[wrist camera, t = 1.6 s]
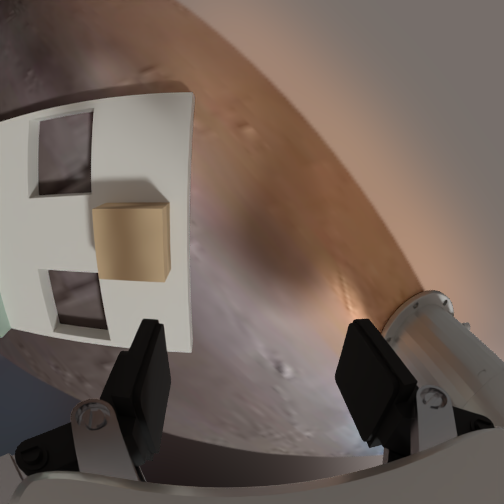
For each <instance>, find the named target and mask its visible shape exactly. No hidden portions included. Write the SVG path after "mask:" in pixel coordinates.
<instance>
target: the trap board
mask: <svg viewBox="0 0 504 504" xmlns="http://www.w3.org/2000/svg"><path fill="white" fill-rule="evenodd" d="M194 104H195V96H194V94H193V92H177V93H155V94H141V95H129V96H120V97H112V98H104V99H97V100H90V101H84V102H79V103H73V104H68V105H63V106H58V107H53V108H49V109H45V110H41V111H37V112H33V113H29V114H25V115H22V116H18V117H15V118H11V119H8V120H5V121H2V122H0V338H2V337H3V336H4V335H5V334H6V333H7V332H8V331H9V330H10V329H11V328H13V329H18V330H22V331H26V332H31V333H36V334H40V335H45V336H51V337H56V338H61V339H67V340H73V341H79V342H86V343H93V344H100V345H107V346H115V347H124V348H130V347H131V344H132V342H133V340H134V337H135V335H136V333H137V330H138V328H139V326H140V324H141V322H142V320H143V319H158V321H159V323H160V324H164V330H165V339H166V347H167V351H170V352H187V353H191V351H192V344H193V336H192V316H191V290H190V180H191V154H192V134H193V118H194ZM88 112H94V114H93V128H92V151H91V192H89V193H69V194H52V195H39V184H38V145H39V126H40V121H44V120H49V119H53V118H58V117H64V116H69V115H75V114H81V113H88ZM127 202H170V252H171V270H170V272H169V275H168V277H167V279H166V281H165V282H144V281H125V280H108V279H99V281H100V288H101V294H102V300H103V306H104V311H105V316H106V321H107V326H108V330H105V329H96V328H88V327H81V326H74V325H67V324H60V321H59V317H58V313H57V310H56V306H55V301H54V297H53V293H52V288H51V284H50V279H49V274H48V270H61V271H76V272H93V273H98V268H97V260H96V251H95V241H94V230H93V216H92V209H93V208H96V207H98V206H100V205H102V204H105V203H127Z"/></svg>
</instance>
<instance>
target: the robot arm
mask: <svg viewBox="0 0 504 504" xmlns="http://www.w3.org/2000/svg"><path fill="white" fill-rule="evenodd" d="M453 316H454V312H453V305H452V302H451V301H450V299H449V298H448V297H447V296H446V295H444V294H443V293H441V292H439V291H435V290H431V291H425V292H421V293H419V294H417V295H415V296H413V297H412V298H410V299H409V300H407V301H406V302H405V303H404V304H402V305H401V306H400V307H399V308H398V309H397V310H396V311H395V313H394V314H393V315H392V316H391V318H390V319H389V320H388V322H387V323H386V325H385V327H384V329H383V331H382V334H381V333H380V332H379V331H378V330H377V328H376V327H375V326H374V325H373V323H372V322H371V321H370V320H369V319H355V320H354V321H353V323H350V324H349V326H348V330H347V334H346V338H345V342H344V345H343V349H342V352H341V356H340V359H339V363H338V366H337V370H336V373H335V380H336V383H337V385H338V388H339V390H340V392H341V394H342V396H343V398H344V401H345V403H346V405H347V407H348V409H349V412H350V414H351V416H352V418H353V420H354V423H355V425H356V427H357V429H358V432H359V434H360V436H361V438H362V440H363V441H364V442H367V444H368V446H369V448H371V447H375V446H379V445H382V446H383V447H384V455H383V464H382V465H379V466H376V467H372V468H369V469H365V470H361V471H357V472H353V473H349V474H345V475H340V476H335V477H330V478H325V479H320V480H313V481H307V482H300V483H293V484H284V485H274V486H261V487H240V488H208V487H188V486H175V485H164V484H155V483H148V482H146V481H145V478H144V476H143V474H142V472H141V469H140V465H142V464H144V463H145V460H151V461H153V455H154V453H157V454H158V453H159V450H160V443H161V437H162V431H163V425H164V419H165V413H166V407H167V402H168V396H169V391H170V385H171V376H170V369H169V362H168V355H167V347H166V339H165V330H164V324H160V323H159V321H158V319H143V320H142V322H141V324H140V326H139V328H138V330H137V333H136V335H135V337H134V340H133V342H132V344H131V347H130V349H129V351H121V352H120V354H119V355H118V358H117V360H116V362H115V364H114V367H113V369H112V371H111V373H110V376H109V378H108V380H107V383H106V385H105V387H104V390H103V392H102V395H101V397H100V399H88V400H84V401H82V402H80V403H78V404H77V405H76V406H75V407H74V408H73V410H72V413H71V422H70V423H68V424H65V425H63V426H60V427H58V428H56V429H53V430H51V431H48V432H46V433H43V434H40V435H38V436H35V437H32V438H30V439H27V440H25V441H23V442H22V443H21V444H20V445H19V446H18V447H17V449H16V451H15V455H14V456H11V455H10V454H6V455H4V456H2V457H0V504H504V362H503V361H502V360H501V359H500V358H499V357H498V356H497V355H496V354H495V353H494V352H493V351H491V350H490V349H489V348H488V347H487V346H486V345H485V344H484V343H482V342H481V340H479V339H478V338H477V337H476V336H475V335H474V334H472V332H470V331H469V330H470V324H469V323H462V324H461V323H460V322H459V321H458V320H457V319H455V318H454V317H453Z"/></svg>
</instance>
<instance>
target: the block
mask: <svg viewBox="0 0 504 504" xmlns="http://www.w3.org/2000/svg"><path fill="white" fill-rule="evenodd" d="M92 216H93V230H94V241H95V251H96V260H97V268H98V275H99V279H108V280H125V281H144V282H165V281H166V279H167V277H168V275H169V272H170V270H171V252H170V202H127V203H105V204H102V205H100V206H98V207H96V208H93V209H92Z"/></svg>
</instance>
